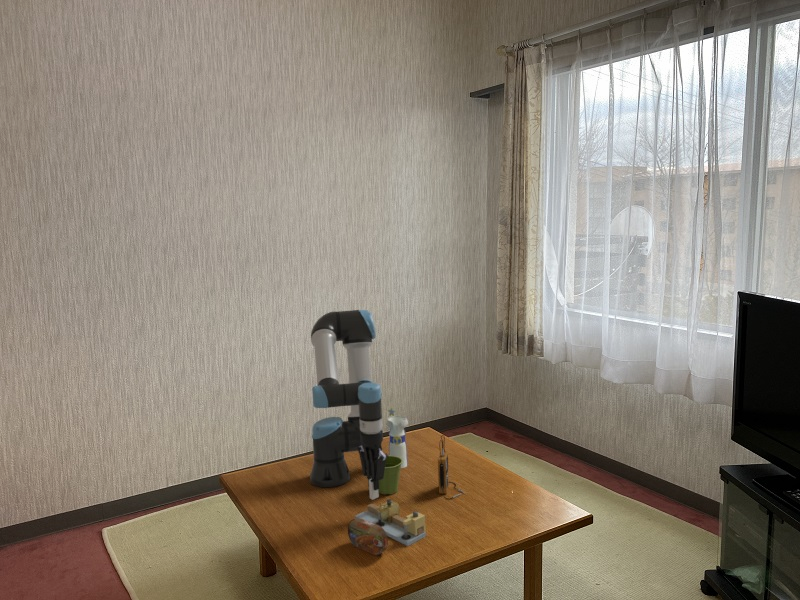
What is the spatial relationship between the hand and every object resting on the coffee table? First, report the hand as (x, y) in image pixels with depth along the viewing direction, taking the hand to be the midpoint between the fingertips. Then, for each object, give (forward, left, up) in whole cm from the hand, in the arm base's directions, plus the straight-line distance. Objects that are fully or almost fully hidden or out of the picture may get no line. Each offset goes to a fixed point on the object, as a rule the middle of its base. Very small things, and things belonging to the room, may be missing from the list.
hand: (374, 497), depth 207 cm
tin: (+15, -16, -6) cm, 22 cm away
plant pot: (-11, +15, -6) cm, 20 cm away
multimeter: (+7, +31, -6) cm, 33 cm away
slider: (+8, -2, -5) cm, 9 cm away
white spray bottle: (-25, +34, -6) cm, 43 cm away
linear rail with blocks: (+10, -3, -6) cm, 12 cm away
